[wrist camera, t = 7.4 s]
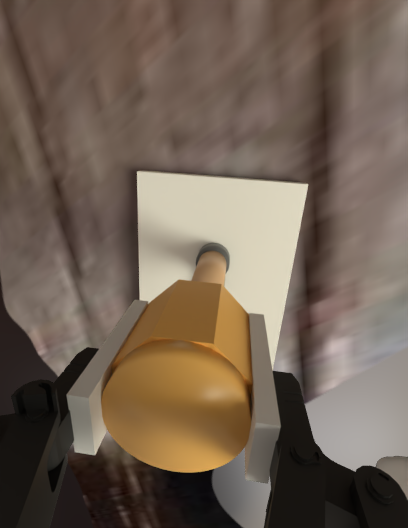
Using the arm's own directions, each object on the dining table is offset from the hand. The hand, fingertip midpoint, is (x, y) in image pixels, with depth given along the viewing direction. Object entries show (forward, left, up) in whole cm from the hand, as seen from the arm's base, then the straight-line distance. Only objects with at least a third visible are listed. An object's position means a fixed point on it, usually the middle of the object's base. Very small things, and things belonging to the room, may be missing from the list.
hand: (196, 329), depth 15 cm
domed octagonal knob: (0, 0, 0) cm, 0 cm away
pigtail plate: (+3, 0, -13) cm, 13 cm away
